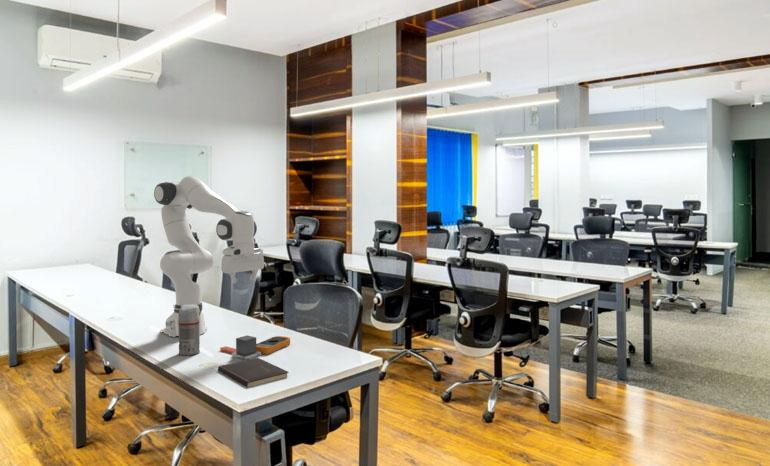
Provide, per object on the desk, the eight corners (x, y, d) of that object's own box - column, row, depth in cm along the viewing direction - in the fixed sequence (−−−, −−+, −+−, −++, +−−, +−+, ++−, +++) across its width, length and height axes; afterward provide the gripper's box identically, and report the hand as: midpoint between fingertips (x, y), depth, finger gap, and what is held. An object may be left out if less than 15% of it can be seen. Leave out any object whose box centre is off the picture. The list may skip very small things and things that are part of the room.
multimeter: (292, 344, 228) (292, 336, 227) (268, 355, 211) (268, 347, 211) (276, 342, 231) (275, 334, 231) (250, 353, 214) (250, 345, 214)
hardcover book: (257, 363, 202) (257, 357, 202) (288, 378, 185) (288, 371, 185) (218, 372, 191) (217, 366, 191) (247, 389, 174) (246, 382, 174)
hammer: (214, 352, 215) (214, 341, 215) (230, 347, 222) (230, 337, 221) (244, 360, 204) (244, 348, 204) (260, 355, 210) (260, 344, 210)
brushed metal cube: (236, 353, 209) (235, 338, 208) (247, 349, 213) (247, 335, 213) (245, 355, 206) (245, 340, 205) (256, 352, 210) (256, 337, 210)
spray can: (205, 352, 215) (203, 304, 214) (188, 357, 208) (187, 307, 207) (191, 349, 219) (190, 302, 218) (174, 354, 212) (173, 305, 211)
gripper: (257, 247, 232) (257, 277, 233) (219, 250, 216) (219, 283, 217) (267, 248, 228) (267, 279, 229) (228, 251, 212) (228, 285, 213)
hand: (243, 281), depth 223 cm, fingers open, 8 cm apart
